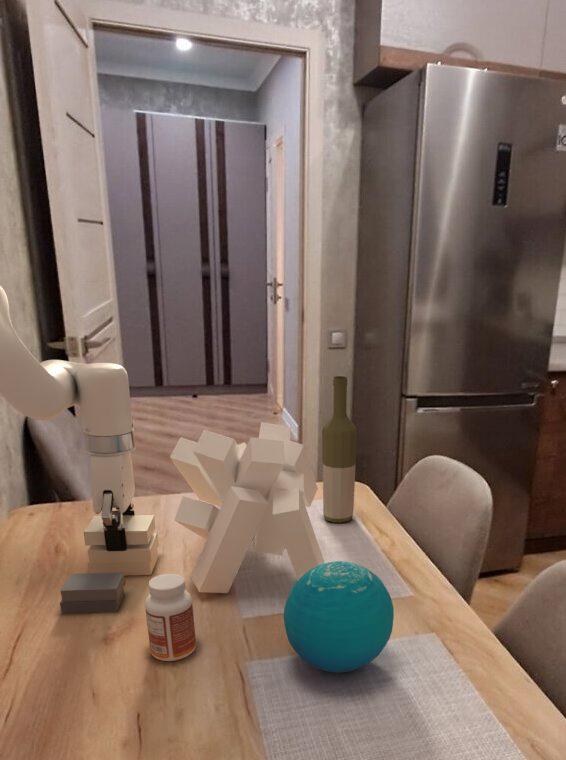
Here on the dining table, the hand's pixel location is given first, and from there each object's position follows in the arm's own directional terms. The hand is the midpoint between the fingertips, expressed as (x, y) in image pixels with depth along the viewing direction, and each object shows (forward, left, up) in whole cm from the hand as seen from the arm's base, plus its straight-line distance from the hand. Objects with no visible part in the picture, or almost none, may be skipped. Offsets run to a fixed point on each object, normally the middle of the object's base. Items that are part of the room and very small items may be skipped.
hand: (121, 540), depth 115 cm
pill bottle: (+12, -27, -5) cm, 30 cm away
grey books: (-2, -13, -5) cm, 14 cm away
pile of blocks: (+22, 0, -5) cm, 23 cm away
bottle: (+39, +20, -5) cm, 44 cm away
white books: (0, 0, -5) cm, 5 cm away
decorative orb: (+35, -32, -5) cm, 48 cm away
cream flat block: (0, 0, +1) cm, 1 cm away
